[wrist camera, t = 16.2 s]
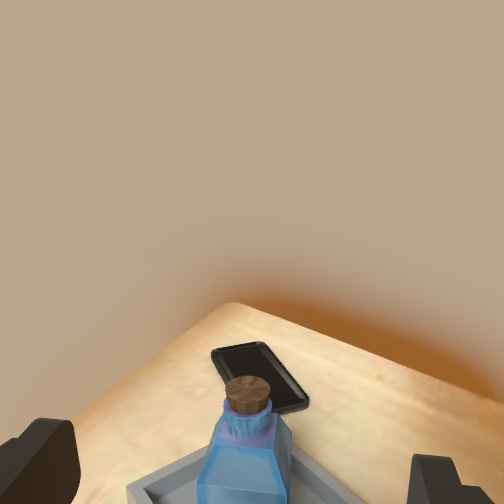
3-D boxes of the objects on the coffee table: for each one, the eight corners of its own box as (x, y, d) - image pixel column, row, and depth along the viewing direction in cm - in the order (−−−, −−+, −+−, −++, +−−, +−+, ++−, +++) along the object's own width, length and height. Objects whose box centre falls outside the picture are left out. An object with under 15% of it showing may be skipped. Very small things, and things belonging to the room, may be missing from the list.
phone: (262, 340, 63) (312, 401, 50) (262, 347, 63) (312, 410, 50) (208, 350, 60) (245, 417, 47) (208, 357, 61) (245, 426, 47)
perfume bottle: (199, 552, 33) (193, 412, 29) (217, 485, 38) (214, 361, 35) (284, 564, 32) (289, 420, 28) (289, 494, 38) (294, 368, 34)
